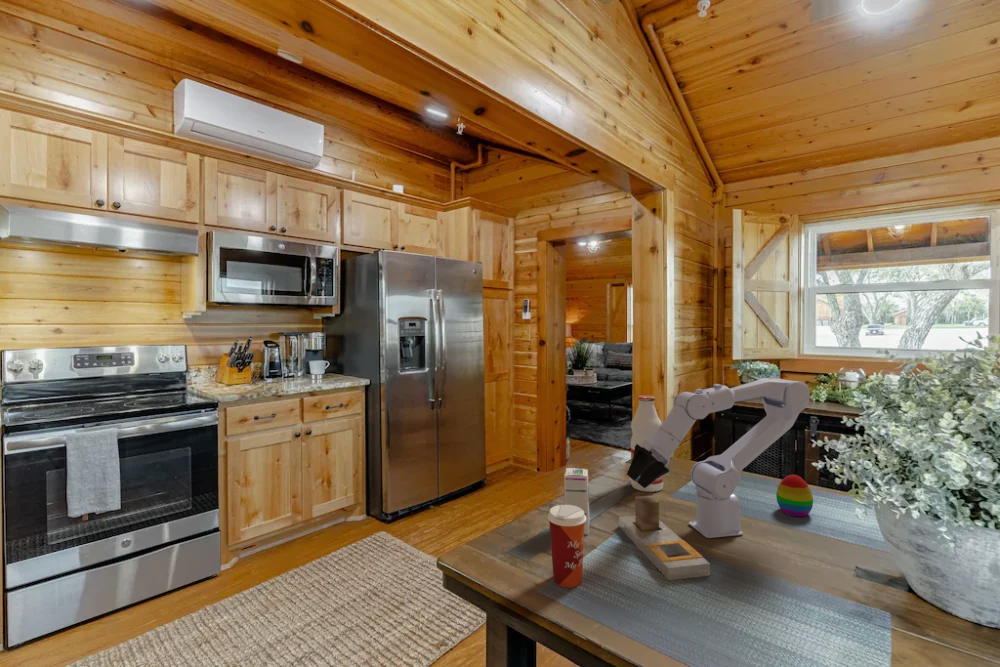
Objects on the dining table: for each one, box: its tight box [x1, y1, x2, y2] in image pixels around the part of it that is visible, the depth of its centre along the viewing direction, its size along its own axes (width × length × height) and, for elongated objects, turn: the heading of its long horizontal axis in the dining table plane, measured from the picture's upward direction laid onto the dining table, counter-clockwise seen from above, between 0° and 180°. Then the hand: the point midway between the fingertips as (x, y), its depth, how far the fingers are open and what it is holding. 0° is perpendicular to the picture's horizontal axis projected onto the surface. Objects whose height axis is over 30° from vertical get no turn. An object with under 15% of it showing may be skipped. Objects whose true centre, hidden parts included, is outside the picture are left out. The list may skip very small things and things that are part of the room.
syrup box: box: [563, 467, 590, 536], centre depth 115 cm, size 6×6×14 cm
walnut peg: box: [634, 495, 660, 532], centre depth 110 cm, size 4×4×9 cm
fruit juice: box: [630, 394, 664, 493], centre depth 142 cm, size 9×9×28 cm
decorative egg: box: [775, 474, 814, 517], centre depth 122 cm, size 8×8×10 cm
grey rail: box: [618, 515, 711, 581], centre depth 104 cm, size 9×24×3 cm, turn 9°
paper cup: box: [547, 504, 586, 589], centre depth 93 cm, size 8×8×14 cm
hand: (635, 481), depth 109 cm, fingers open, 7 cm apart
